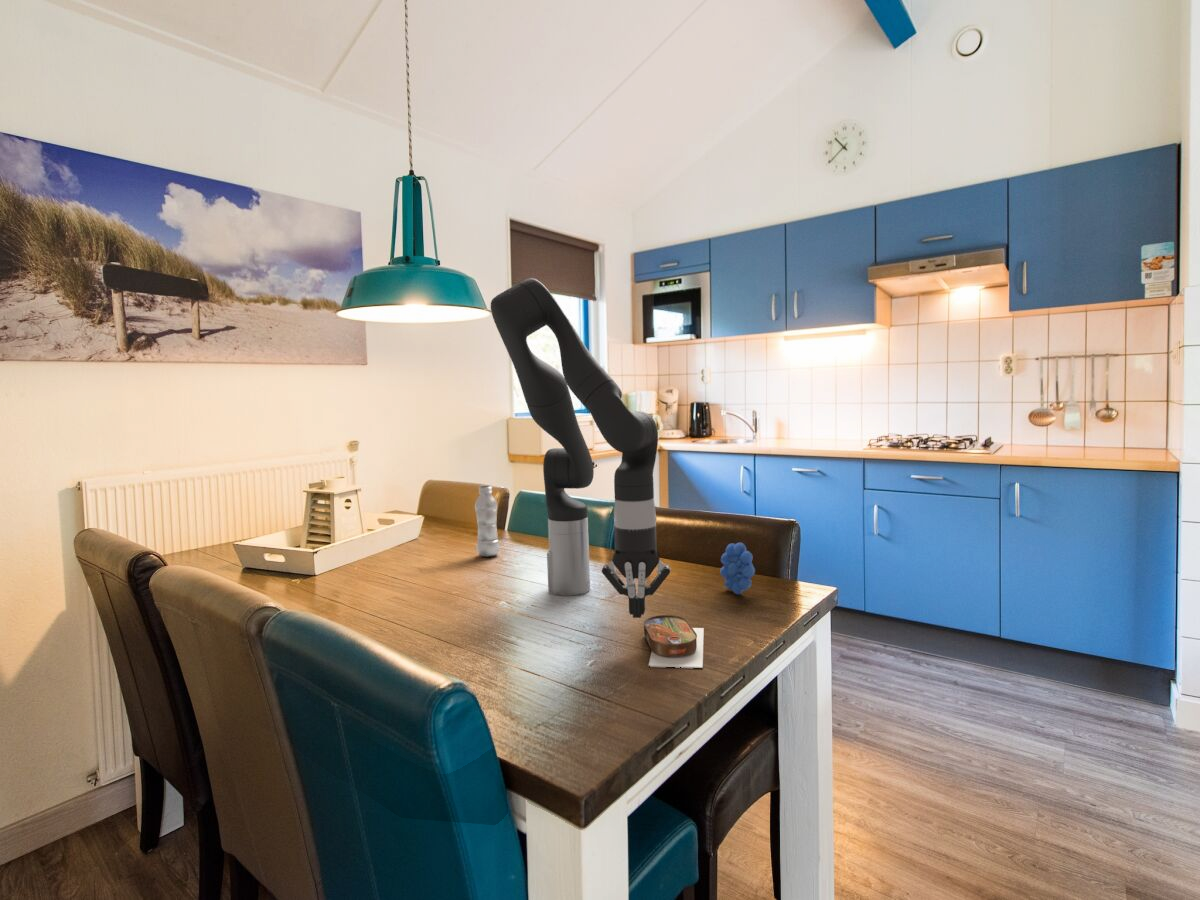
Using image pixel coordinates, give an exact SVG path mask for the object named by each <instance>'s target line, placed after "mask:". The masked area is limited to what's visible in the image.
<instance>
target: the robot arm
mask: <svg viewBox="0 0 1200 900" xmlns="http://www.w3.org/2000/svg"><path fill="white" fill-rule="evenodd" d="M490 312H491V313H490V314H491V316H492V319H493V321H494V324H495V327H496V329H497V331H498V334H499V336H500V338H501V341H502V342H503V345H504V347H505V349H506V350H507V351H506V352H507V354H508V356H509V357H510V360H511V362H512V364H513V367H514V370H515V373H516V375H517V378H518V382H519V385H520V387H521V391H522V395H523V397H524V400H525V403H526V405H527V409H528V411H529V414H530V416H531V418H532V419H533V420H534V422H535V423H536V424H537V425H538V426H539V427H540V428H541V429H542V430H543V431H544V432H545V433H547V434H548V435H550V436H551V437H552V438H553V439H554V440H556V441H557V442H558V443H559V444H560V445H561V446H562V448H559V447H556V448H550V449H548V450H547V451H546V452H545V454H544V457H543V463H542V467H543V468H542V469H543V470H542V471H543V472H542V473H543V481H544V482H543V483H544V493H545V507H546V512H547V524H548V525H547V530H548V532H547V533H548V549H549V550H548V551H547V553H546V562H547V563H546V564H547V567H546V568H547V588H548V590H547V591H548V594H555V595H558V596H567V597H568V596H577V595H582V594H586V593H588V592H589V591H590V590H591V575H590V573H591V570H590V568H591V567H590V547H589V546H590V545H589V543H590V542H589V541H590V540H589V514H588V506H587V505H586V504H585V503H584V502H582V501H579V500H578V499H575V498H573V497H571V496H570V495H568V493H567V492H566V491H565V489H585V488H588V487H589V486H590V485H591V483H592V482H593V479H594V474H595V473H594V472H595V471H594V464H593V459H592V455H591V453H590V450H589V448H588V445H587V443H586V440H585V437H584V435H583V433H582V430H581V427H580V425H579V422H578V420H577V416H576V412H575V408H574V404H573V401H572V400H573V399H572V397H571V393H572V394H573V395H574V396H575V397H576V398H577V399H578V400H579V401H580V403H581V404H582V405H583V407H585V409H586V410H588V412H589V413H590V415H591V416H592V419H593V422H594V423H595V425H596V426H597V428H598V430H599V432H600V434H601V435H602V437H603V439H604V440H605V441H606V442H607V444H608V445H609V446H610V447H611V448H612V449H614V450H615V451H617V452H619V453H621V461H620V464H619V466H618V467H617V468H616V470H615V472H614V479H613V483H614V484H613V485H614V487H613V489H614V491H613V492H614V503H613V504H614V505H613V527H614V529H613V531H614V532H613V533H614V534H613V535H614V554H613V556H612V560H611V561H609V562H608V563H605V564H604V565H603V567H602V569H601V573H602V574H603V575H604V577H605V578H606V579H607V581H609V583H610V584H611V586H612V587H613V588H614V589H615V590H616V591H617V594H619V595H621V596H622V595H624V596H625V597H627V599H628V612H629V615H630V616H631V615H632V618H633V619H635V618H638V619H639V618H640V619H641V618H642V616H644V614H645V612H646V597H647V596H653V595H654V594H655V593H656V592H657V590H658V589H659V588H660V586H661V585H662V584H663V582H664V581H665V580H666V579H667V577H668V576H669V575H670V574H671V565H669V564H665V563H664V562H662V561H661V560H660V558H661V557H660V555H659V554H658V551H657V516H656V511H657V510H656V505H655V498H654V497H655V493H654V492H655V491H654V469H655V464H656V458H657V451H658V445H659V444H658V443H659V433H658V426H657V424H656V421H655V420H654V418H653V416H651V415H650V414H649V413H647V412H644V411H641V410H640V411H639V410H638V411H631V410H630V409H629V408H628V407H627V405H625V403H624V402H623V399H622V398H623V393H622V389H621V388H620V387H619V385H618V384H617V382H615V380H614V379H613V378H612V377H611V376H610V375H609V373H607V371H606V370H605V369H604V368H603V366H602V365H600V363H599V362H598V361H597V359H595V357H594V356H593V354H592V353H591V352H590V350H589V349H588V348H587V346H586V345H585V344H584V342H583V340H582V339H581V337H580V335H579V334H578V332H577V331H576V329H575V328H574V325H573V324H572V323H571V321H570V320H569V318H568V316H567V315H566V314H565V312H564V311H563V309H562V307H561V306H560V305H559V303H558V301H557V300H556V299H555V297H554V296H553V294H552V293H551V292H550V290H549V289H548V288H547V287H546V285H544V284H543V283H542V282H541V281H539V280H538V279H536V278H532V277H529V278H525V280H522V281H520V282H518V283H517V284H514V285H513V286H511V287H509V288H507V289H506V290H504V291H502V292H501V293H499V294H497V295H496V296H495V297H493V298H492V299H491V301H490ZM546 326H547V327H548V328H549V329H550V330H551V332H552V333H553V334H554V336H555V339H556V341H557V343H558V348H559V353H560V355H559V356H560V364H561V370H562V373H561V372H560V371H559V370H558V369H557V368H555V367H553V366H552V365H550V364H549V363H547V362H546V361H544V360H542V359H541V358H539V357H538V356H537V355H535V353H533V352H532V350H531V349H530V347H529V344H528V340H527V338H528V337H529V336H530V335H532V334H533V333H535V332H537V331H538V330H540V329H542V328H544V327H546ZM570 391H571V393H570ZM655 569H656V576H655V578H654V579H653V580H652V581H651V582H650V584H648V585H647V586H646V583H647V578H649V577H650V575H651V574H652V573H653V572H654V570H655ZM617 570H618V571H619V573H620V574H621V575H622V576H623V577H624V578H625V579H626V580H625V581H626V584H625V583H624V582H623V581H622V579H621V578H620V577H619V576H618V575H617V573H616V572H617ZM636 579H637V587H636ZM636 588H637V589H636Z"/></svg>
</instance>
